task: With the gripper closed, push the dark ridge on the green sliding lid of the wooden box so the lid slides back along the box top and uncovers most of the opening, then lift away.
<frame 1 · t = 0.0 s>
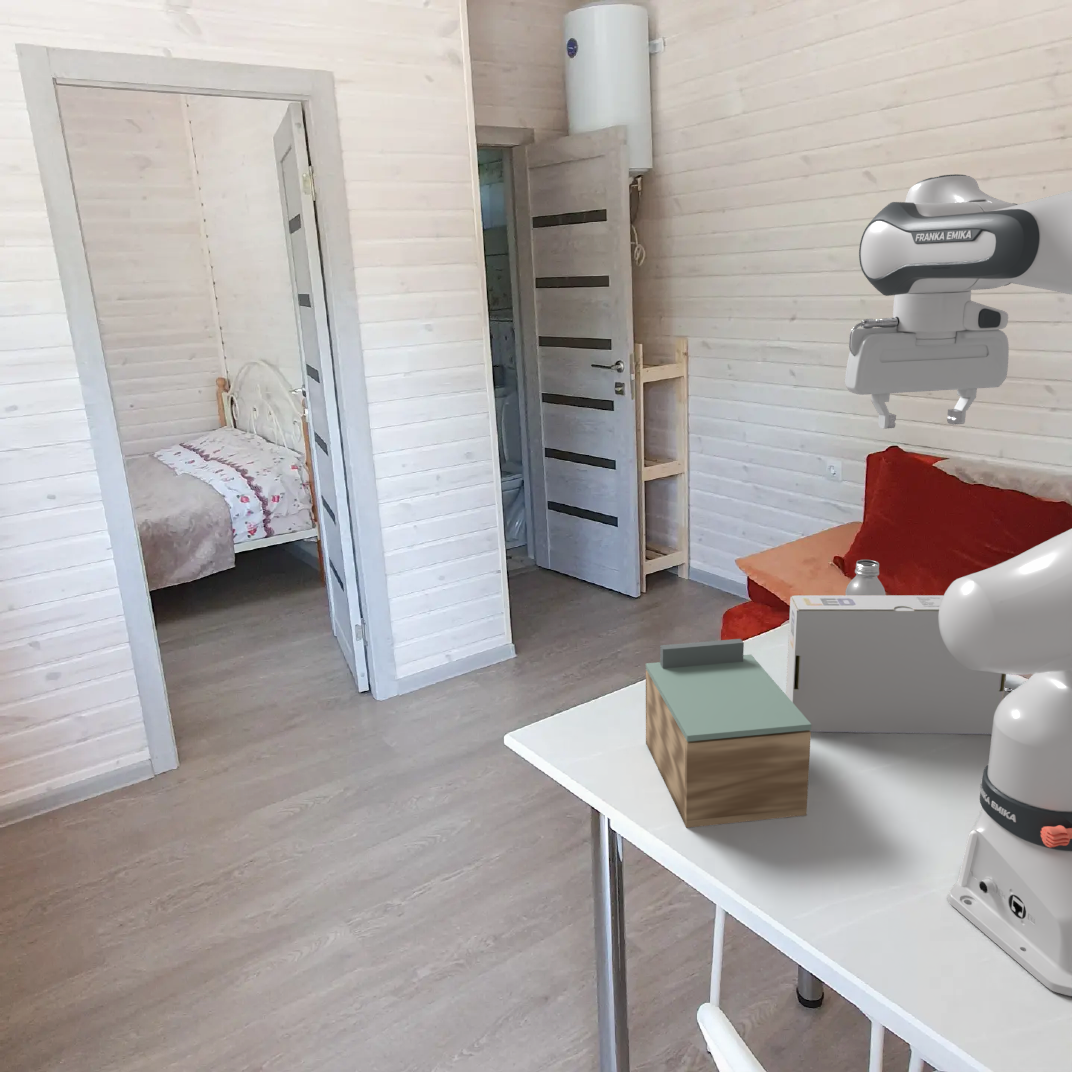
hand: (921, 425, 119), 48 cm above the table, tool pointing down, fingers open, 8 cm apart
wooden box: (720, 776, 129), on the table
lid: (722, 684, 125), point 14 cm above the table, slide at 0.0 cm
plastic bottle: (860, 673, 159), on the table
packaging: (888, 725, 141), on the table
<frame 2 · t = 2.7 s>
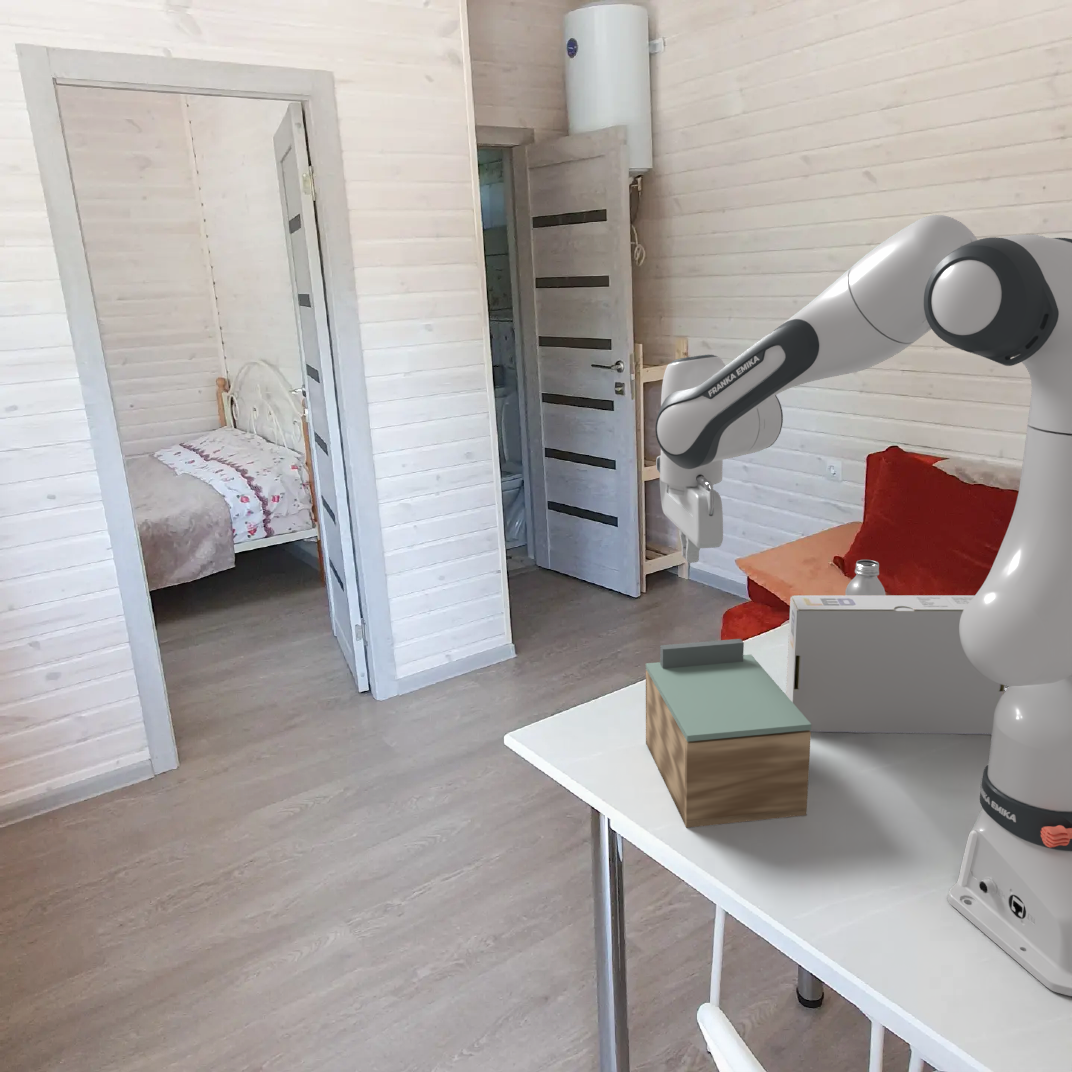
hand: (690, 559, 136), 27 cm above the table, tool pointing down, fingers closed
nothing on the table moved.
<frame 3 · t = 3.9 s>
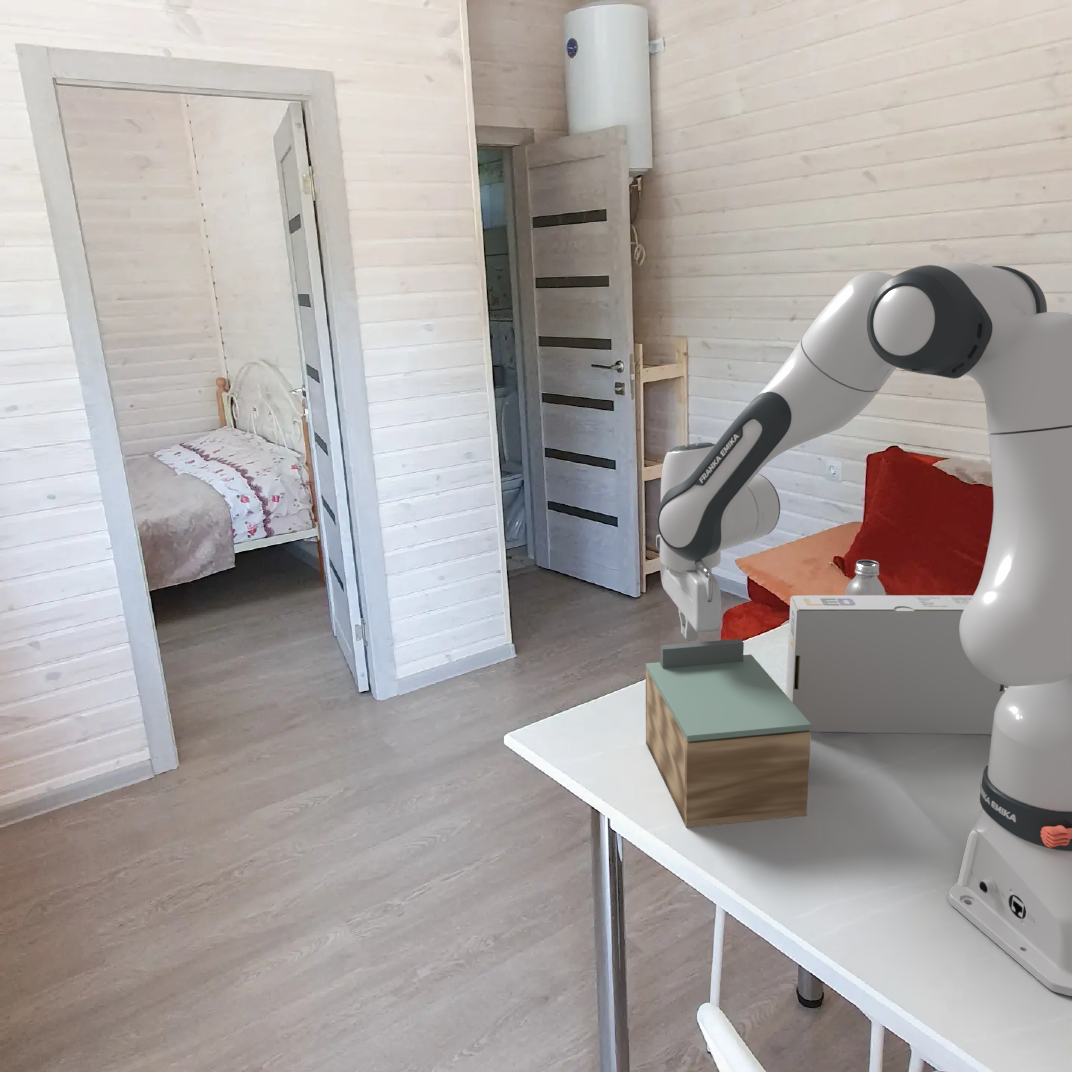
hand: (689, 637, 140), 14 cm above the table, tool pointing down, fingers closed
nothing on the table moved.
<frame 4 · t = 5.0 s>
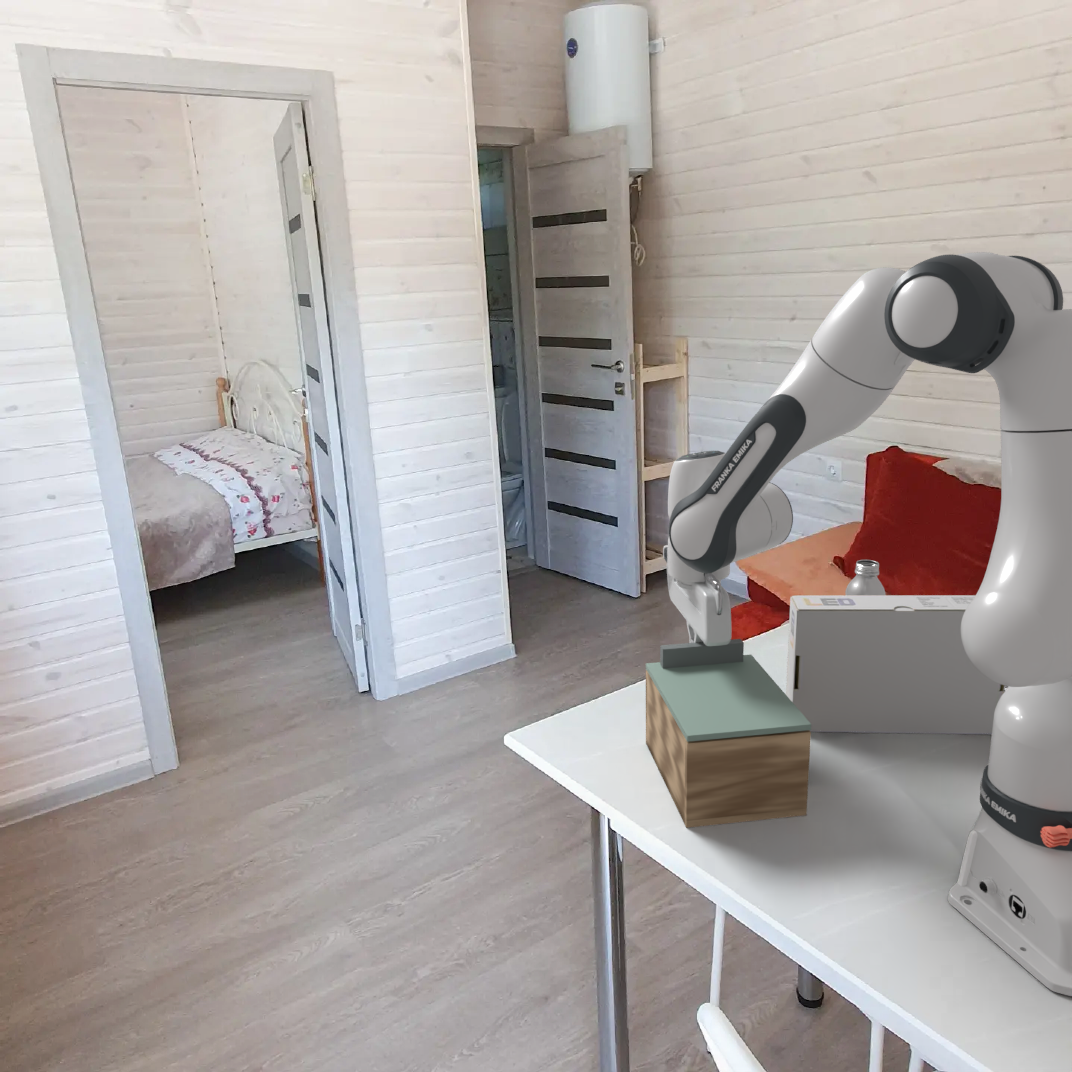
hand: (698, 650, 136), 14 cm above the table, tool pointing down, fingers closed
lid: (722, 684, 125), point 14 cm above the table, slide at 0.0 cm, touching gripper
everything else where it was.
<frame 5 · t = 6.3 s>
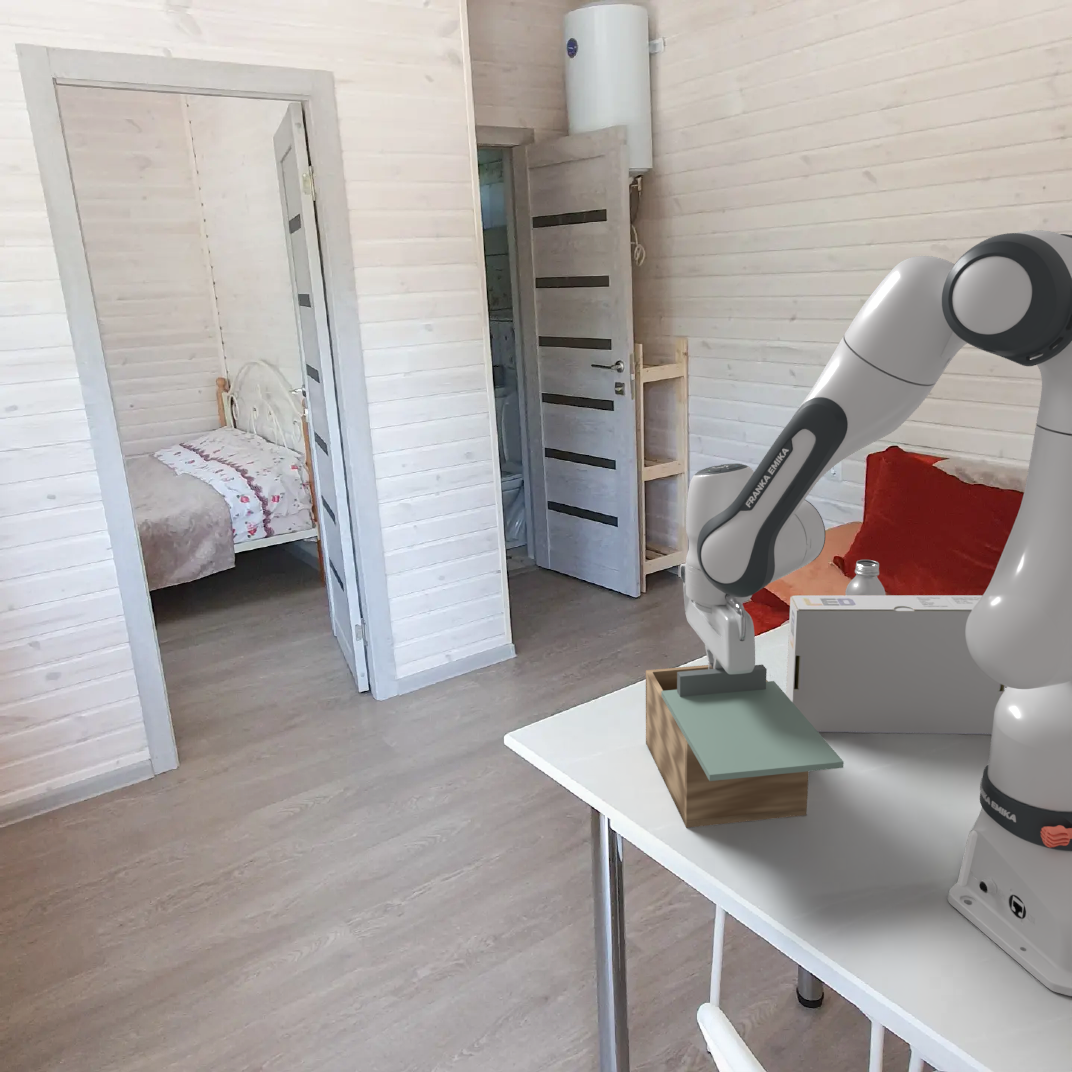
hand: (717, 676, 127), 14 cm above the table, tool pointing down, fingers closed
lid: (745, 715, 116), point 14 cm above the table, slide at 9.2 cm, touching gripper
everything else where it was.
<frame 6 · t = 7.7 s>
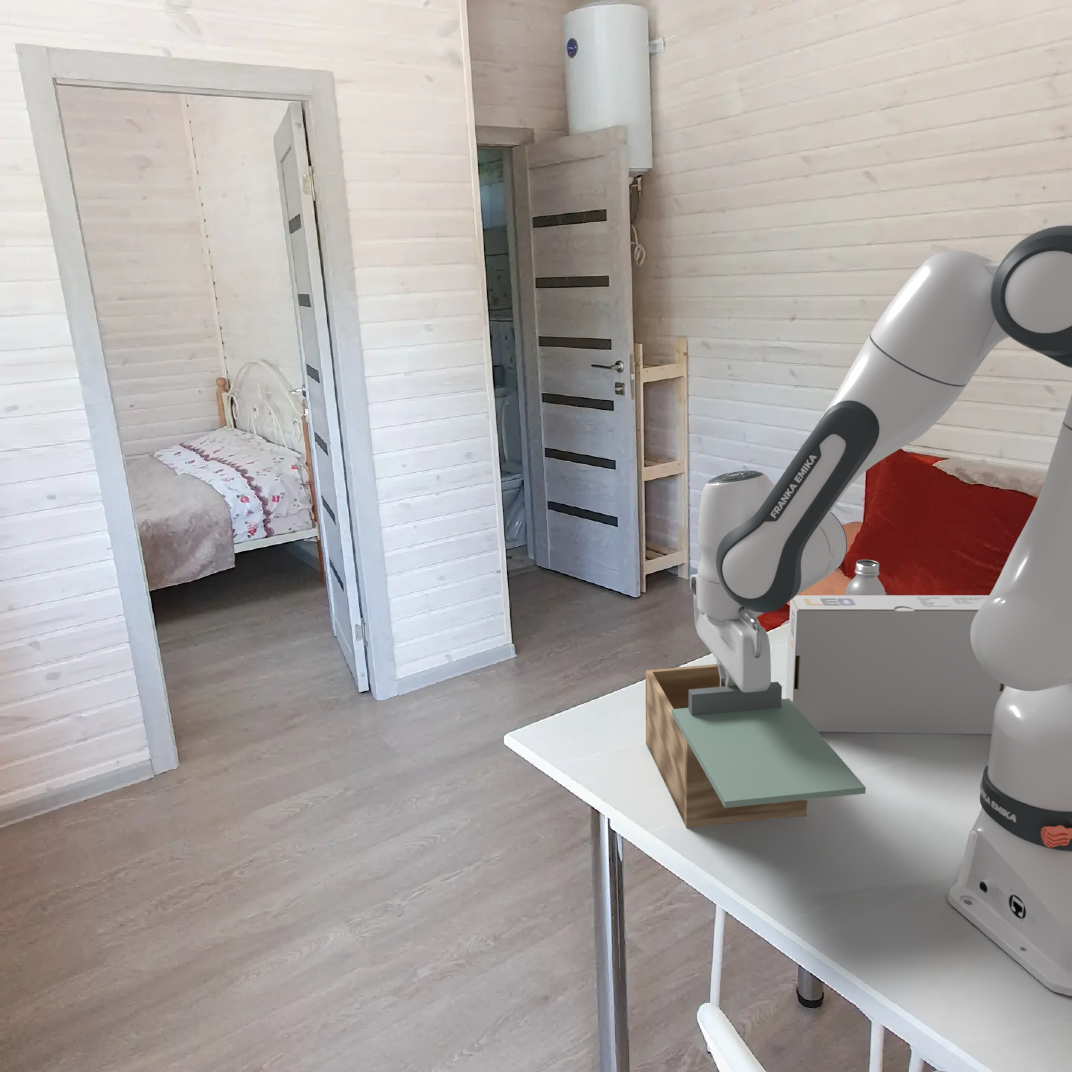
hand: (729, 693, 122), 14 cm above the table, tool pointing down, fingers closed
lid: (760, 736, 111), point 14 cm above the table, slide at 14.8 cm, touching gripper
everything else where it was.
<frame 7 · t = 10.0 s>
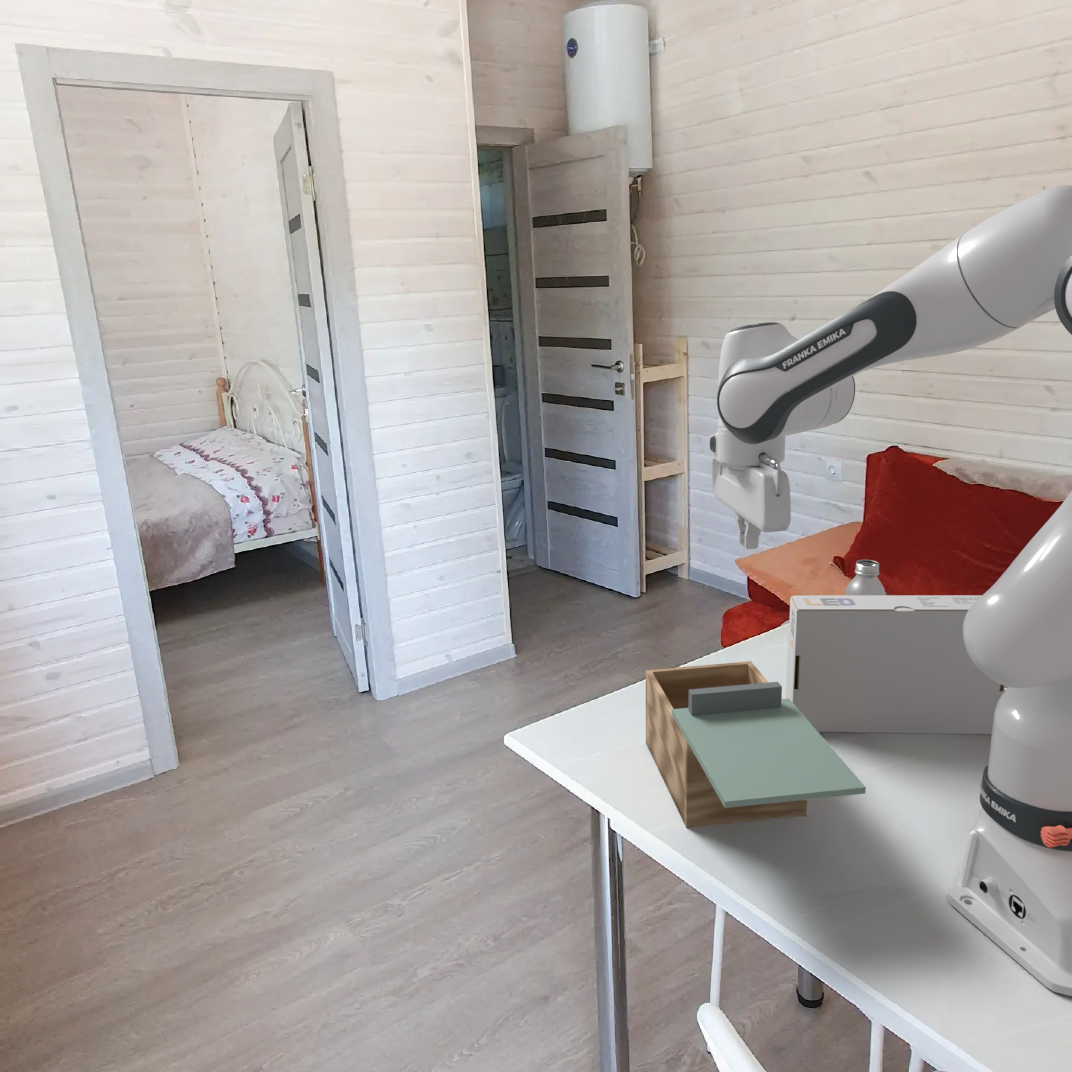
hand: (748, 546, 126), 32 cm above the table, tool pointing down, fingers closed
lid: (760, 736, 111), point 14 cm above the table, slide at 14.8 cm
everything else where it was.
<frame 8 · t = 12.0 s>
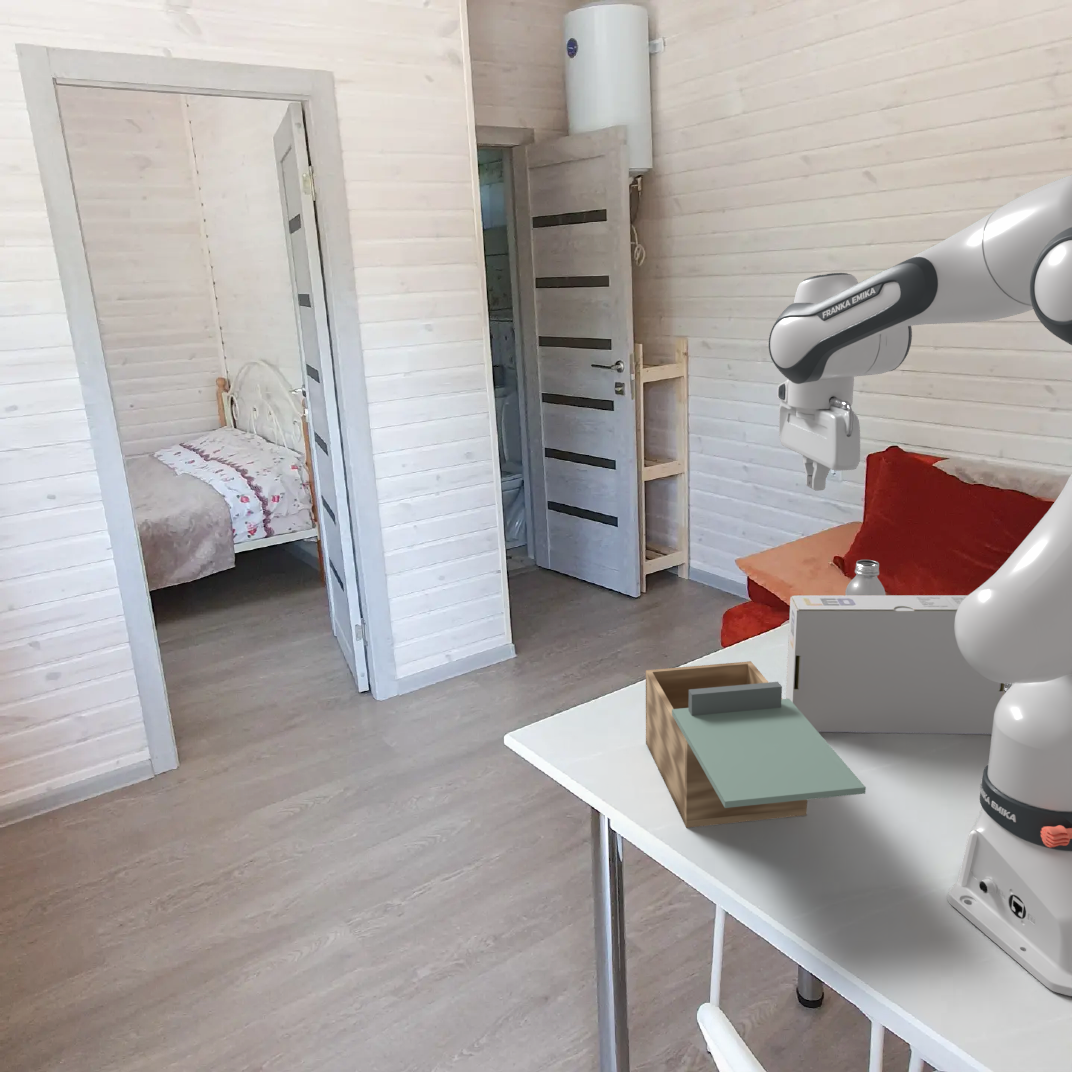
hand: (815, 488, 133), 37 cm above the table, tool pointing down, fingers closed
nothing on the table moved.
at the end: lid slide at 14.8 cm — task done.
